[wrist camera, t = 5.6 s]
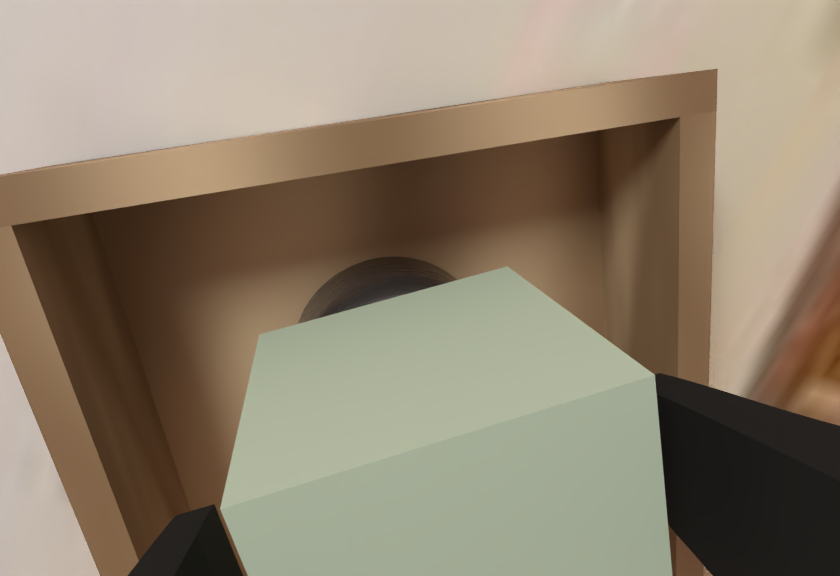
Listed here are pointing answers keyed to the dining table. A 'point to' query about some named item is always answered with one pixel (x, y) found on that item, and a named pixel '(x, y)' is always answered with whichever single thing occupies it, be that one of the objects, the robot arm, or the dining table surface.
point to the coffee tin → (373, 284)
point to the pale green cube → (448, 443)
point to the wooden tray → (333, 267)
